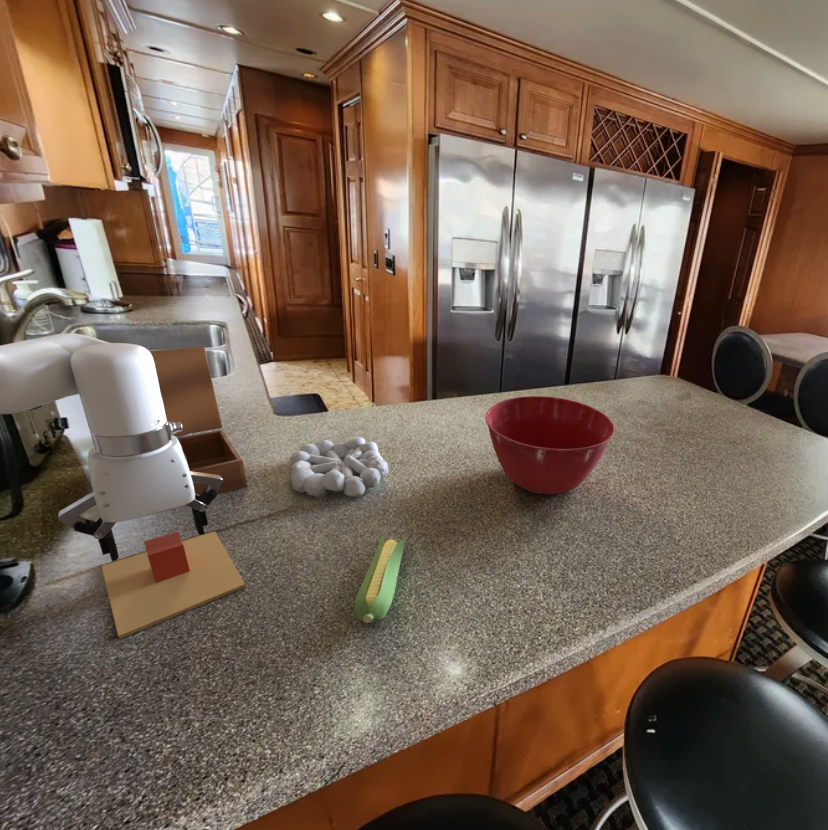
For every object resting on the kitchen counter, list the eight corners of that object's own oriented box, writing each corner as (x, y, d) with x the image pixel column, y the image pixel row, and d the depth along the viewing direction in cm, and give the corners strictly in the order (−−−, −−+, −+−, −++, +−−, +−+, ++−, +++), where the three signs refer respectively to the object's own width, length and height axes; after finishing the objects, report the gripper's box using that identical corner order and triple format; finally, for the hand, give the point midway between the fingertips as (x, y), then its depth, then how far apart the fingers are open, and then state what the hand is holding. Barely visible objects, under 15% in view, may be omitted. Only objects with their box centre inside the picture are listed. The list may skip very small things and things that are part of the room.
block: (190, 571, 69) (183, 544, 67) (155, 583, 66) (147, 555, 65) (185, 557, 72) (178, 531, 70) (152, 568, 69) (144, 541, 67)
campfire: (258, 480, 94) (254, 455, 92) (345, 445, 112) (343, 423, 109) (331, 517, 85) (328, 491, 83) (413, 473, 103) (412, 449, 101)
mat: (99, 559, 70) (98, 555, 70) (209, 524, 80) (209, 521, 80) (119, 639, 58) (117, 636, 58) (245, 587, 68) (245, 583, 68)
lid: (204, 346, 94) (203, 346, 94) (98, 355, 83) (98, 354, 84) (222, 427, 98) (221, 427, 99) (124, 445, 88) (124, 444, 88)
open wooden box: (248, 490, 91) (242, 459, 88) (144, 517, 80) (134, 484, 78) (228, 457, 101) (222, 429, 99) (134, 477, 91) (125, 447, 88)
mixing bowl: (629, 485, 108) (640, 425, 102) (544, 532, 88) (552, 462, 82) (544, 441, 125) (549, 388, 119) (457, 473, 105) (458, 411, 99)
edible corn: (348, 634, 63) (346, 608, 61) (381, 540, 81) (380, 519, 79) (388, 632, 63) (386, 607, 62) (411, 540, 82) (411, 519, 80)
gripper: (206, 415, 69) (224, 510, 75) (37, 441, 57) (74, 551, 64) (218, 434, 64) (235, 534, 71) (36, 466, 53) (76, 582, 59)
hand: (159, 542), depth 67 cm, fingers open, 9 cm apart
